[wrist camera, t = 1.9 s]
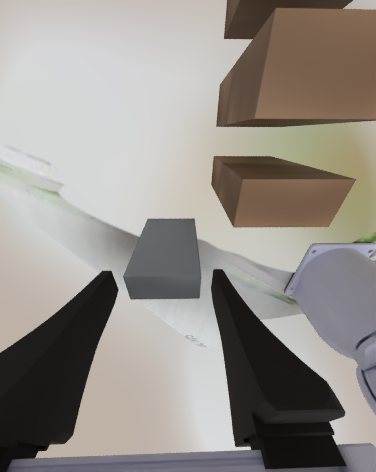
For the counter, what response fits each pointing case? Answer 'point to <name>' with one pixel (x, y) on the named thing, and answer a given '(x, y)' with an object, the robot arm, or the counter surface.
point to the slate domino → (165, 261)
